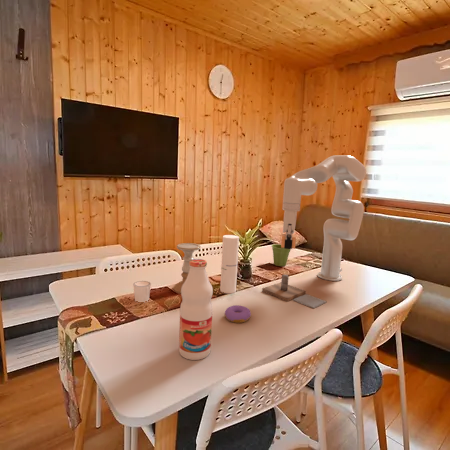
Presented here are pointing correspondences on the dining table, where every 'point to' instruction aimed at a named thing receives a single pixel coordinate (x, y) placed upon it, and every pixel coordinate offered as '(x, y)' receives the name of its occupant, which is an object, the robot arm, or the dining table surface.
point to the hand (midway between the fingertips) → (288, 246)
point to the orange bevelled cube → (285, 239)
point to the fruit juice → (196, 313)
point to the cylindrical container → (229, 263)
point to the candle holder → (185, 262)
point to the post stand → (284, 290)
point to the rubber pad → (309, 301)
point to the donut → (237, 314)
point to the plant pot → (280, 255)
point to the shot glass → (142, 291)
